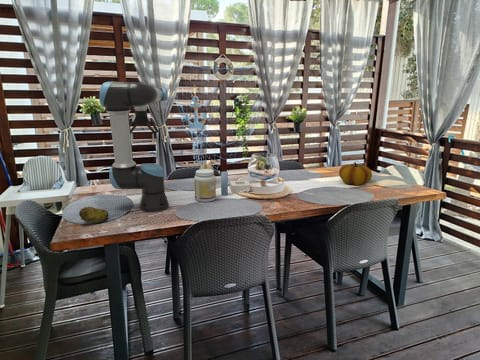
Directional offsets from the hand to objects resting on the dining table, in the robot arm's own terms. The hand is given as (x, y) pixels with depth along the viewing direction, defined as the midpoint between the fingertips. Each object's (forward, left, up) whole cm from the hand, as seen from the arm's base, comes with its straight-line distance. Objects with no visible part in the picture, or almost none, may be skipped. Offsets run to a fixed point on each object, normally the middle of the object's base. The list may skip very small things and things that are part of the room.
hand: (143, 143), depth 212 cm
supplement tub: (-37, -38, -28) cm, 59 cm away
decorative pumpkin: (-16, -142, -28) cm, 145 cm away
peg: (-30, -50, -28) cm, 64 cm away
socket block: (-21, -61, -28) cm, 70 cm away
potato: (-64, +16, -28) cm, 71 cm away
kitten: (-3, -41, -28) cm, 49 cm away
